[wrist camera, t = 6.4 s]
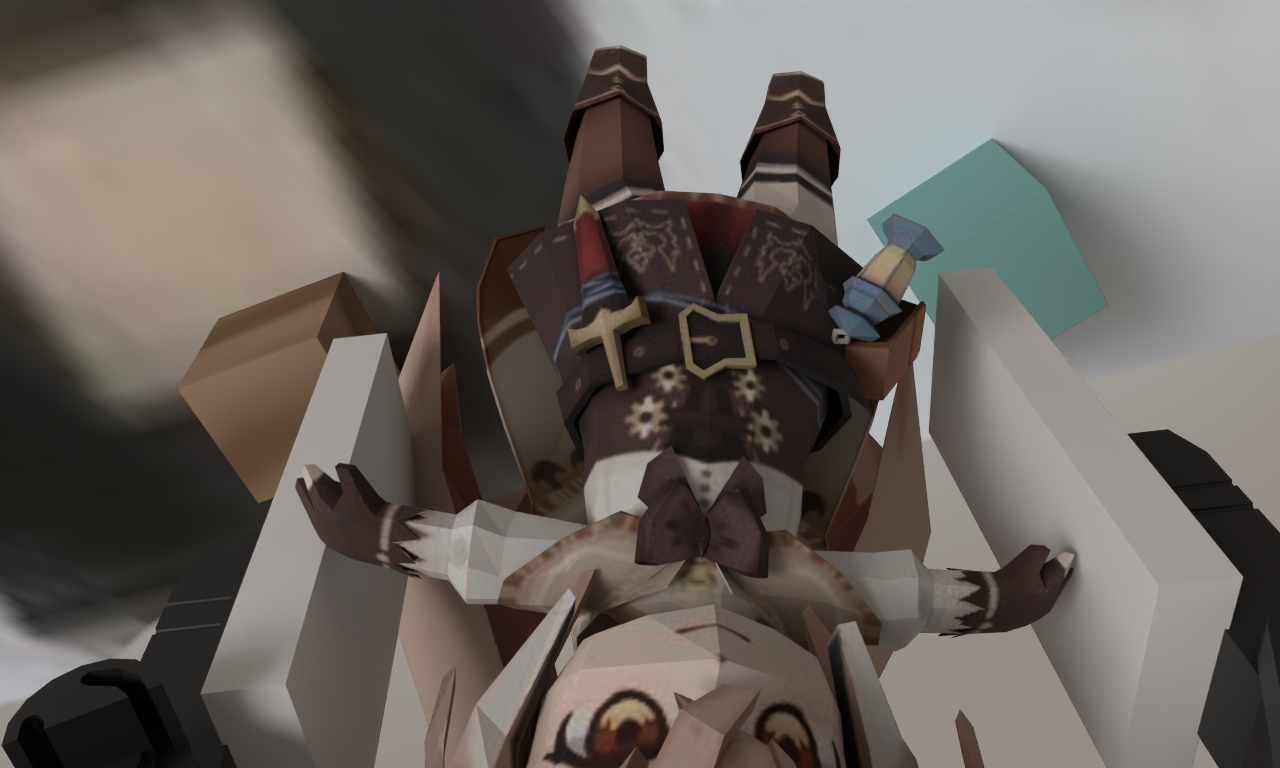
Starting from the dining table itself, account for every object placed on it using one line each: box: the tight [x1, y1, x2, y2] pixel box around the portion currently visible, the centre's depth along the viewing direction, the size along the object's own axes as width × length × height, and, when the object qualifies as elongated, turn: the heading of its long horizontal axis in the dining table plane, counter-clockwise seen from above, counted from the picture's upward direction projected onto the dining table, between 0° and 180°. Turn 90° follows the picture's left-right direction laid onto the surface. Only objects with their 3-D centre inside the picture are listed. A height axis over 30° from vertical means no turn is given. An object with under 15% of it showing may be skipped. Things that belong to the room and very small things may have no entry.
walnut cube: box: [178, 272, 401, 503], centre depth 38 cm, size 5×5×5 cm
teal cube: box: [867, 139, 1108, 339], centre depth 37 cm, size 5×5×5 cm
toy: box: [295, 46, 1075, 768], centre depth 13 cm, size 9×8×15 cm
